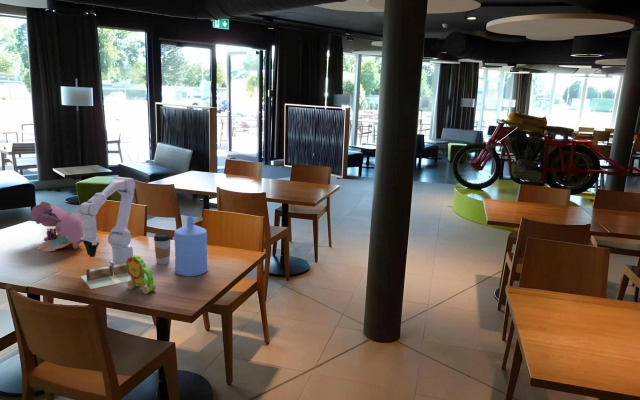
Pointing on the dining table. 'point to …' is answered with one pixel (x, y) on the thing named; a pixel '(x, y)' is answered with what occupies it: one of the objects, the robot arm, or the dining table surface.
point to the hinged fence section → (97, 273)
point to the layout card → (107, 280)
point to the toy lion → (139, 274)
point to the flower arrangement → (58, 226)
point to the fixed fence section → (118, 269)
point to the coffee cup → (162, 247)
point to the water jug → (190, 249)
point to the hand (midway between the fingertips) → (91, 255)
